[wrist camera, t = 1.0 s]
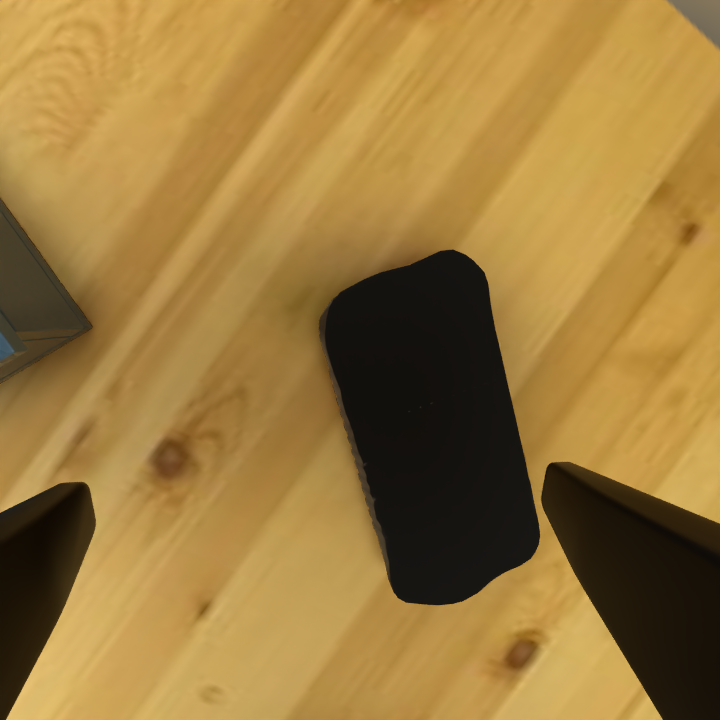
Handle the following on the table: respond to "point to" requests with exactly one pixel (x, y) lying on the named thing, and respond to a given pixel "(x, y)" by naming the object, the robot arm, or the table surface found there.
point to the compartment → (33, 299)
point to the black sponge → (432, 426)
